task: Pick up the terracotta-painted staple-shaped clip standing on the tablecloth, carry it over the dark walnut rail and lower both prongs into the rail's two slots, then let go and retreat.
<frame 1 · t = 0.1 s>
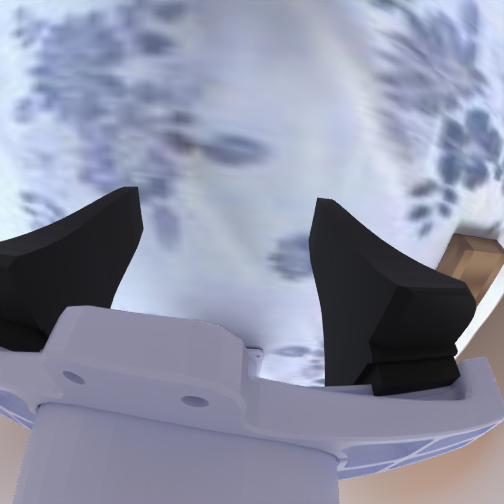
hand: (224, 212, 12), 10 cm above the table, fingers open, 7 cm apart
rail: (424, 328, 32), on the table
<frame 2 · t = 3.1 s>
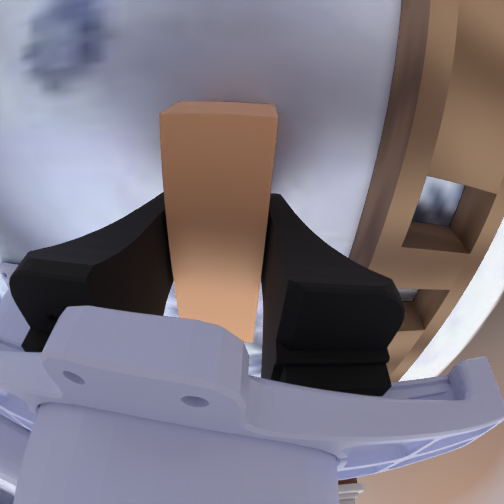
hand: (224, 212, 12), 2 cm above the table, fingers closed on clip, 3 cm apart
rail: (411, 241, 15), on the table
clip: (229, 188, 14), on the table, touching gripper
coffee cup: (311, 407, 29), on the table
when the fingers open (3 cm above the table, at t = 6.8 s): clip stays where it is, resting in rail.
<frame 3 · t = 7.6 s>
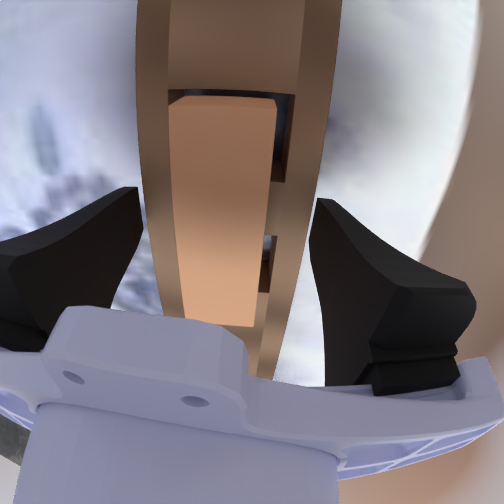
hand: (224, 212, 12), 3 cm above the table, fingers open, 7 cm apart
rail: (231, 181, 14), on the table
bowl: (14, 400, 45), on the table
clip: (231, 179, 14), resting in rail
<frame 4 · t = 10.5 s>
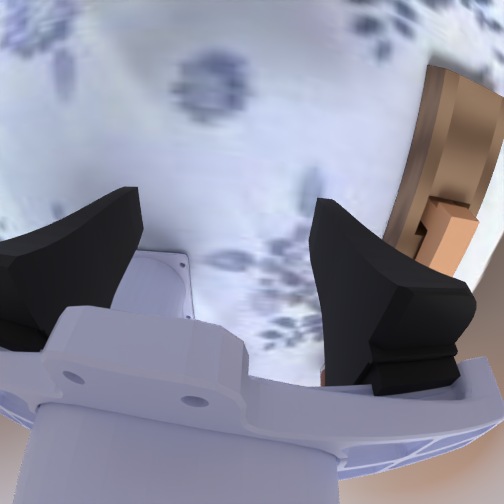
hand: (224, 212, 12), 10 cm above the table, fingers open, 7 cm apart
rail: (419, 232, 24), on the table
clip: (419, 231, 24), resting in rail
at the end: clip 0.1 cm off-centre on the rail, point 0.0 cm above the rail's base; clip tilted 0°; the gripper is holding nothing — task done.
